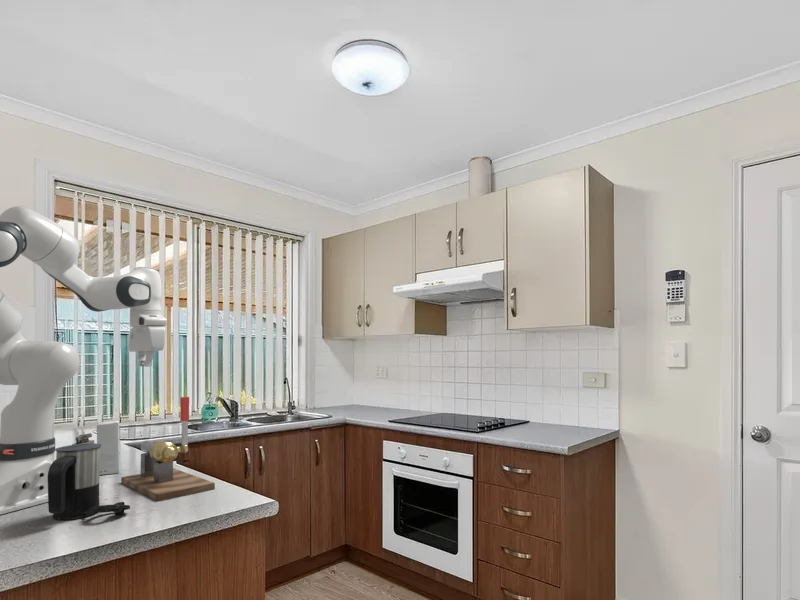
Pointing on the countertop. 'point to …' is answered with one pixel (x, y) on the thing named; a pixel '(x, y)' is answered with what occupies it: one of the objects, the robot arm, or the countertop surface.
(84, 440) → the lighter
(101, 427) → the skincare box
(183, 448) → the valve lever
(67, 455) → the milk frother
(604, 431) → the countertop surface
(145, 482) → the valve rig
